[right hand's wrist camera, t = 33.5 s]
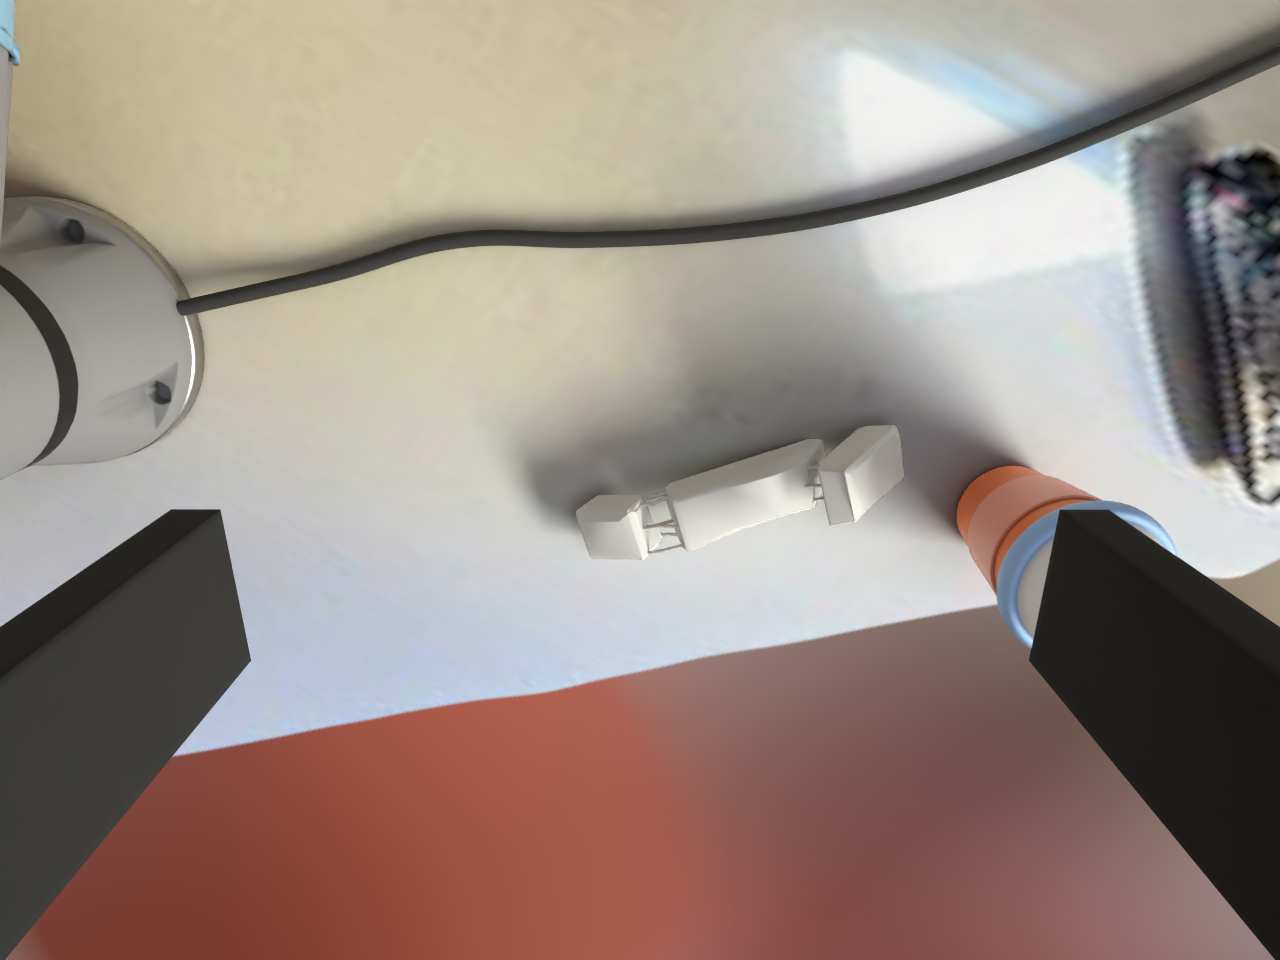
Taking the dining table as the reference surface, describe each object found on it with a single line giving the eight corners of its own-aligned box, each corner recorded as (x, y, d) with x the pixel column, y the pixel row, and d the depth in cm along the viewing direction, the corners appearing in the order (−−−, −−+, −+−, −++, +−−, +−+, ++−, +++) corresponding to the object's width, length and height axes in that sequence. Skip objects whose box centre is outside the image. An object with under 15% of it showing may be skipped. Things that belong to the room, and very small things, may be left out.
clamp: (891, 414, 48) (917, 451, 41) (901, 470, 49) (928, 514, 43) (582, 487, 52) (563, 531, 45) (599, 537, 53) (582, 587, 46)
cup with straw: (908, 489, 50) (1044, 643, 33) (1041, 415, 48) (1257, 537, 31) (968, 595, 53) (1122, 787, 36) (1096, 528, 51) (1322, 697, 34)
